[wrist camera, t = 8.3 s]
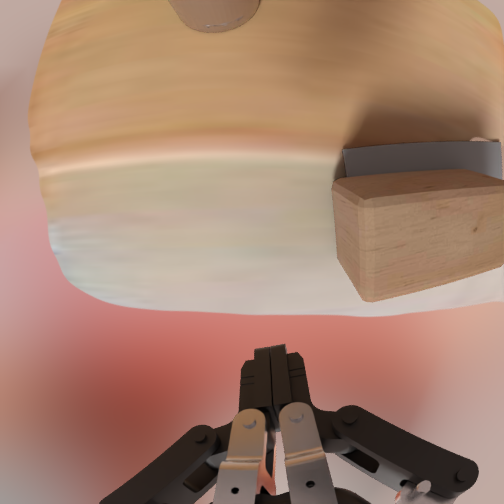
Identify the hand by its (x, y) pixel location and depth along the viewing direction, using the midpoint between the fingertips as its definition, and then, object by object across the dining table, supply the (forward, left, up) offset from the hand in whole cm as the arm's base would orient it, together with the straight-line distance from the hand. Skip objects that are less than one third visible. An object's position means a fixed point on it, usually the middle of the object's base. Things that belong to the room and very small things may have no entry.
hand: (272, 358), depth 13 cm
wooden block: (0, +8, -14) cm, 16 cm away
